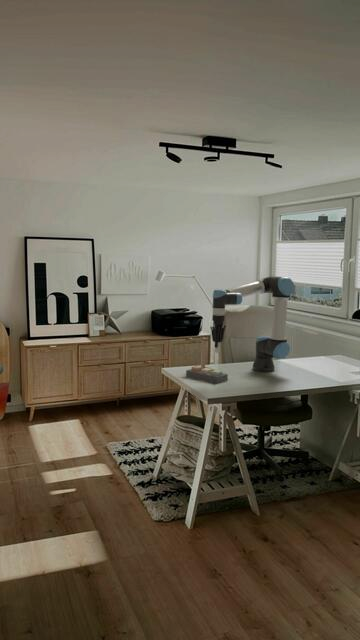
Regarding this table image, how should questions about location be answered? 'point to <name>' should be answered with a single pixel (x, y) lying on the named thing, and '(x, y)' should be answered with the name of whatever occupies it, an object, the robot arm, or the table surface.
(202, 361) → the headphone stand
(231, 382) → the table surface
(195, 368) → the terracotta key
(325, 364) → the table surface
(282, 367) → the table surface
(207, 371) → the sand key
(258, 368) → the robot arm
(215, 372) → the sage key
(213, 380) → the keypad
